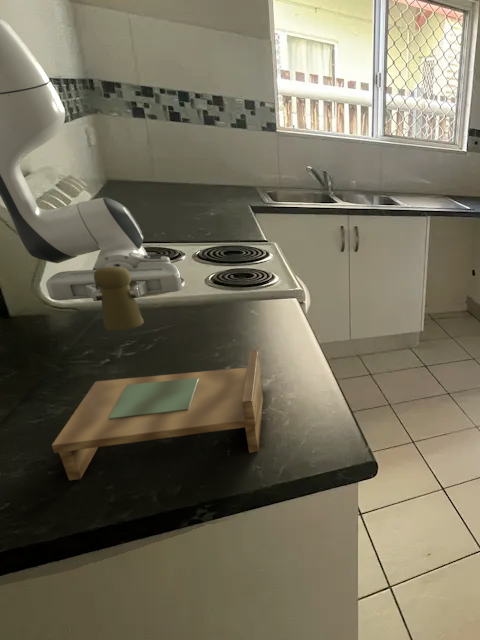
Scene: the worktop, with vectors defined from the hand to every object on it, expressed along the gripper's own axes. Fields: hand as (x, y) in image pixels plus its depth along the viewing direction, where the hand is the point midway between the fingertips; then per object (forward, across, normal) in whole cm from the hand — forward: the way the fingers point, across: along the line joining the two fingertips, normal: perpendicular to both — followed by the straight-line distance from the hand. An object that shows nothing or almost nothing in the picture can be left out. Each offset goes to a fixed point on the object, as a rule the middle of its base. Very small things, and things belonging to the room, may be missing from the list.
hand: (116, 295), depth 87 cm
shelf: (+33, +8, +11) cm, 36 cm away
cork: (-1, 0, +6) cm, 6 cm away
